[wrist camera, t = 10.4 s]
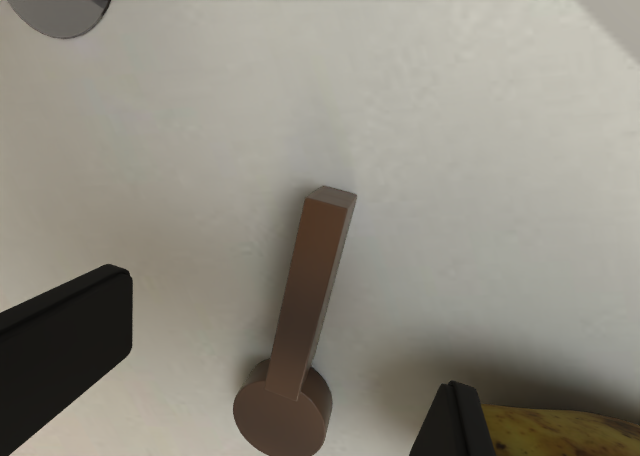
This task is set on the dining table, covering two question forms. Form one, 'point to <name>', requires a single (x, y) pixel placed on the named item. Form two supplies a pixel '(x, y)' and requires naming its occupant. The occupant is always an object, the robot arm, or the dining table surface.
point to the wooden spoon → (298, 339)
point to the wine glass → (60, 15)
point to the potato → (559, 433)
